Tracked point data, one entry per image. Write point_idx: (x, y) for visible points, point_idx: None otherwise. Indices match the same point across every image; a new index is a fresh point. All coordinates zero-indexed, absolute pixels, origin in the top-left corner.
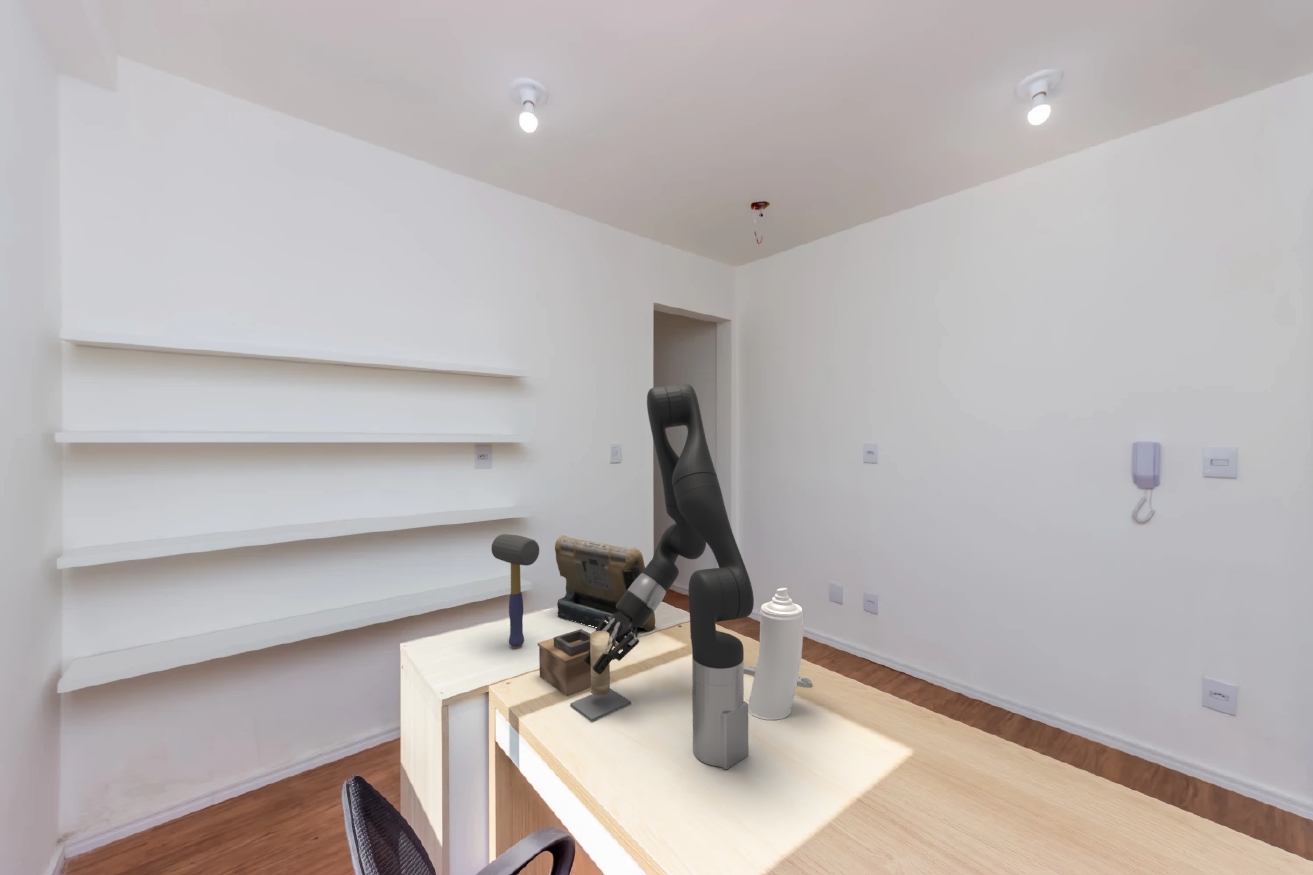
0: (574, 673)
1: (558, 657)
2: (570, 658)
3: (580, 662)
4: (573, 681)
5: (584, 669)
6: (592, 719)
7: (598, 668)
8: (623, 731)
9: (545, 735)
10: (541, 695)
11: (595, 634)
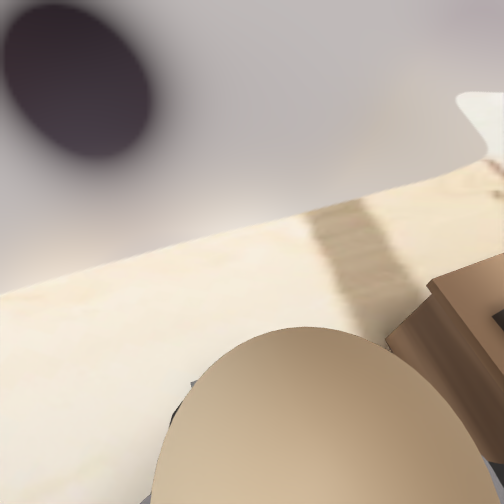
0: (437, 355)
1: (492, 258)
2: (464, 308)
3: (484, 383)
4: (418, 357)
5: (477, 416)
6: (192, 386)
7: (176, 409)
8: (83, 483)
9: (194, 252)
10: (405, 267)
11: (348, 415)
